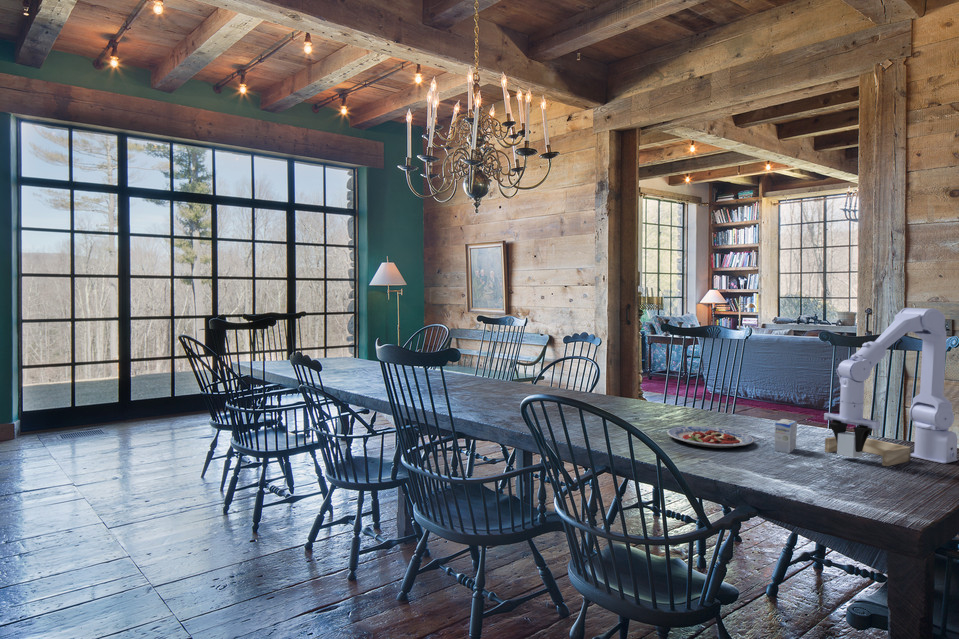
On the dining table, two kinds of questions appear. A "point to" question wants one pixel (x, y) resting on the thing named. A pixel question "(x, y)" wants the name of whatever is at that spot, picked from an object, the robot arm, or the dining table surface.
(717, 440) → the ceramic plate
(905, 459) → the birch frame
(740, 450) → the dining table surface
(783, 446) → the medicine box
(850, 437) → the block
